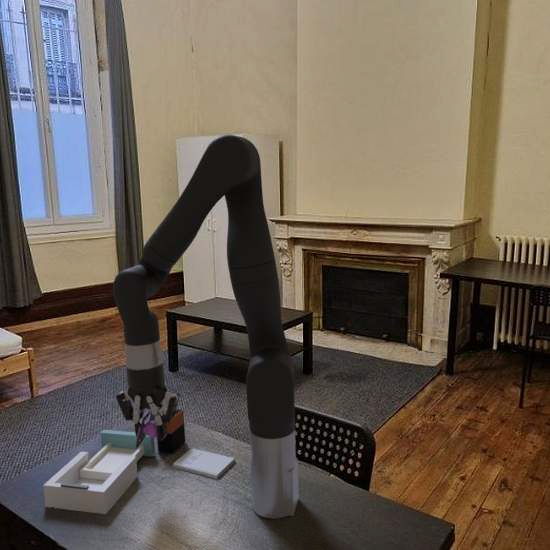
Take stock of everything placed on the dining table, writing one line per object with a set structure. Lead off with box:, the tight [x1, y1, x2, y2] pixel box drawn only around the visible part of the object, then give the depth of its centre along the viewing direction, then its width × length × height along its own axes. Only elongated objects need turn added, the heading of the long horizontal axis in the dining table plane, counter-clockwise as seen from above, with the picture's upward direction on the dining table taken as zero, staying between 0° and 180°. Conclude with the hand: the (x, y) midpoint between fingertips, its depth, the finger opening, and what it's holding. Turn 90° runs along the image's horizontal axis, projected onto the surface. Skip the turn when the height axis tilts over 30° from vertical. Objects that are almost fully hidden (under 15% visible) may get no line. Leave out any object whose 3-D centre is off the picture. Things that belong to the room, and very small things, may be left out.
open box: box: [43, 451, 138, 515], centre depth 114 cm, size 14×14×5 cm
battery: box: [155, 408, 186, 455], centre depth 132 cm, size 4×7×10 cm, turn 159°
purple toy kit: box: [136, 409, 158, 448], centre depth 111 cm, size 7×5×9 cm
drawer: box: [80, 429, 156, 481], centre depth 124 cm, size 14×14×5 cm
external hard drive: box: [172, 447, 236, 480], centre depth 124 cm, size 2×8×12 cm
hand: (151, 438), depth 110 cm, fingers closed on purple toy kit, 4 cm apart
